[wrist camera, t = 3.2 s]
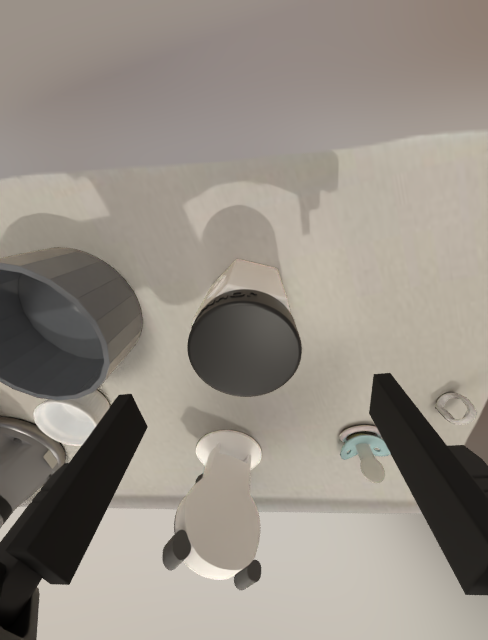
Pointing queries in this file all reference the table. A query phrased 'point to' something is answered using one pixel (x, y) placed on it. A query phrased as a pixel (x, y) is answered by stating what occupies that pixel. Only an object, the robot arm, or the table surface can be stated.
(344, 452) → the pacifier
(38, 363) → the grey round bowl
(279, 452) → the table surface
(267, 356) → the jar
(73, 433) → the ramekin
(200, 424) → the table surface
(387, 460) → the table surface
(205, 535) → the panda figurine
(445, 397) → the pale grey ring
